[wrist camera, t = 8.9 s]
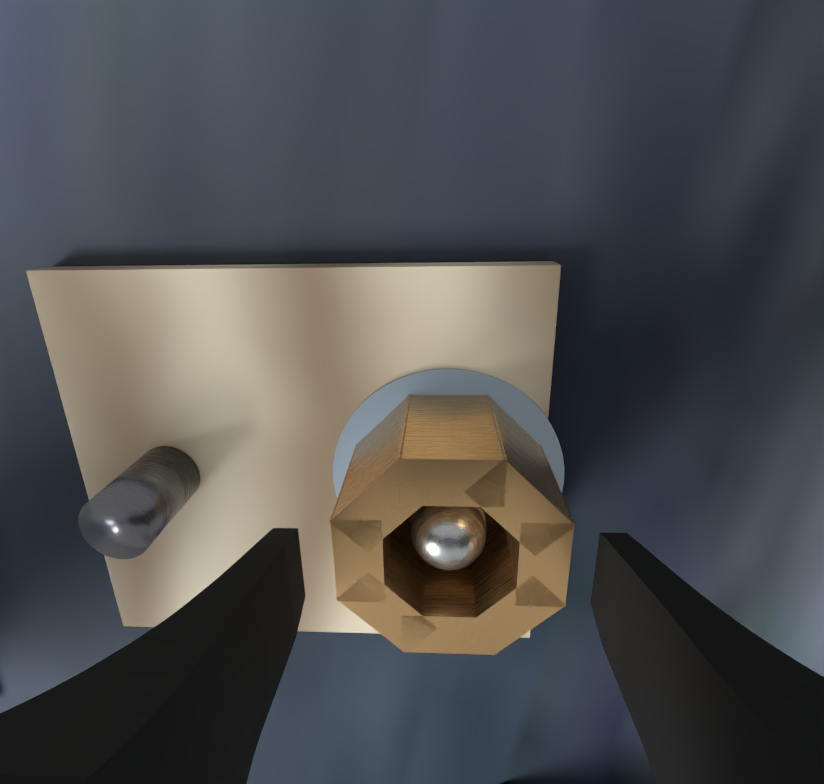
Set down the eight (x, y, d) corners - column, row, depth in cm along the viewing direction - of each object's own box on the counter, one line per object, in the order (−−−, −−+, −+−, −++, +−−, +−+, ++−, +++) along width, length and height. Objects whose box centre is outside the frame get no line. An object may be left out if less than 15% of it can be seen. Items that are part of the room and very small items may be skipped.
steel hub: (416, 503, 16) (409, 586, 13) (415, 448, 16) (407, 519, 12) (478, 504, 16) (488, 588, 13) (480, 448, 16) (491, 520, 12)
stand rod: (146, 499, 17) (87, 558, 14) (133, 445, 16) (69, 496, 13) (205, 500, 17) (157, 560, 14) (195, 446, 16) (143, 497, 13)
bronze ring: (362, 552, 17) (340, 651, 13) (352, 393, 15) (324, 456, 11) (533, 555, 17) (560, 657, 13) (546, 394, 15) (583, 459, 11)
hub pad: (341, 567, 17) (340, 571, 17) (325, 367, 15) (324, 370, 15) (553, 571, 17) (554, 575, 17) (573, 368, 15) (575, 370, 14)
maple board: (138, 606, 20) (123, 626, 19) (51, 266, 15) (26, 270, 14) (525, 616, 19) (529, 637, 18) (553, 261, 15) (560, 265, 14)
